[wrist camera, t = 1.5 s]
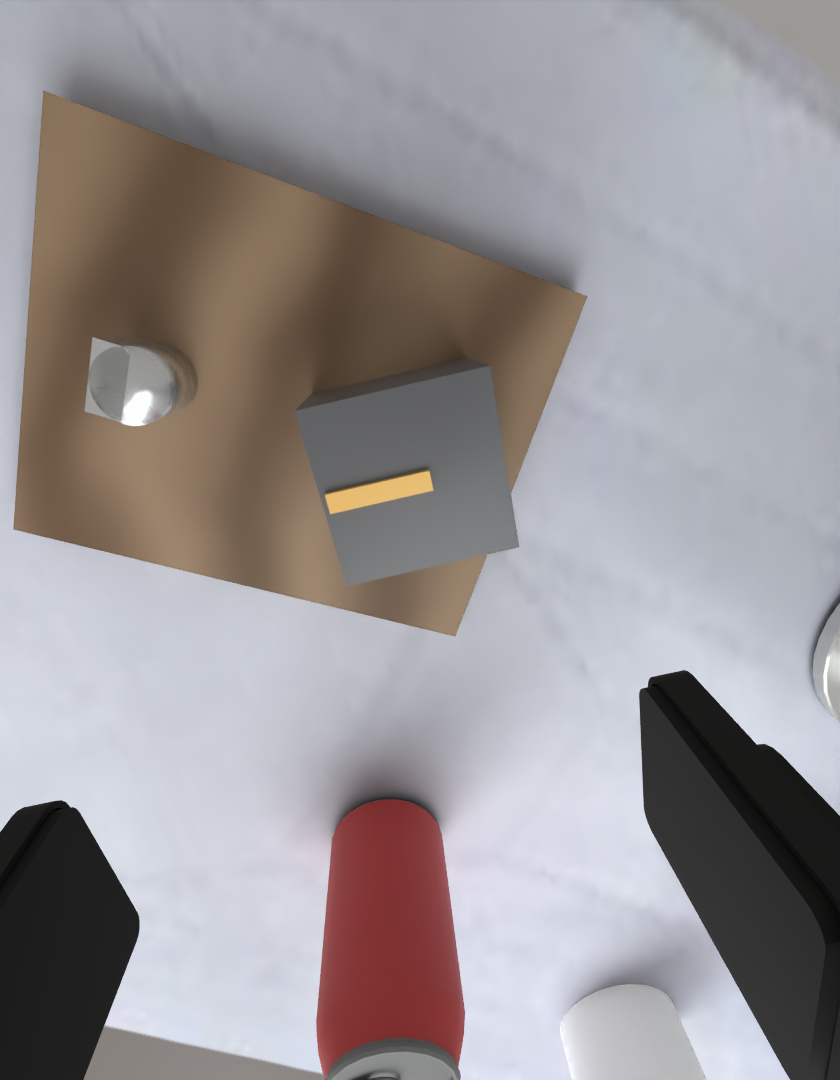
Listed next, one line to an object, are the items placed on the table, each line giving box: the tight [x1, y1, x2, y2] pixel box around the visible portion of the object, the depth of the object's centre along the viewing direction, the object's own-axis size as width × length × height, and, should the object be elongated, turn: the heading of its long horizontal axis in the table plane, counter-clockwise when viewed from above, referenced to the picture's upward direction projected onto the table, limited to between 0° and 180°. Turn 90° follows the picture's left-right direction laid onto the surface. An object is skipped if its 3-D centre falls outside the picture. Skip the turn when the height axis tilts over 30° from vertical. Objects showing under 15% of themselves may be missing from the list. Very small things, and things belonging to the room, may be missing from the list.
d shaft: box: [85, 336, 198, 426], centre depth 20 cm, size 3×3×3 cm
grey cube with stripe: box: [295, 358, 519, 586], centre depth 21 cm, size 6×6×5 cm
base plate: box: [14, 91, 587, 636], centre depth 23 cm, size 20×16×2 cm
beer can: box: [317, 799, 465, 1080], centre depth 27 cm, size 7×7×12 cm
